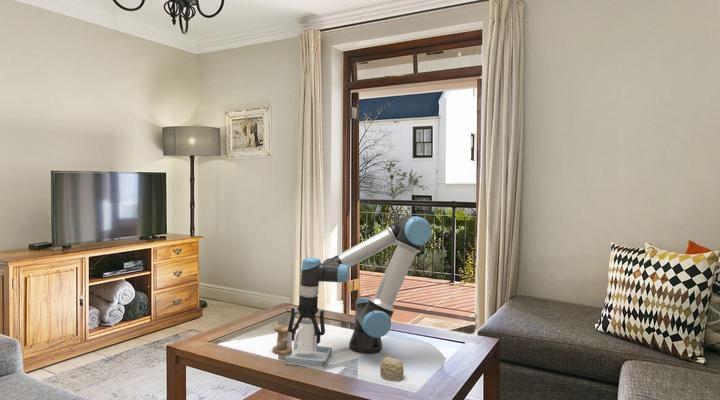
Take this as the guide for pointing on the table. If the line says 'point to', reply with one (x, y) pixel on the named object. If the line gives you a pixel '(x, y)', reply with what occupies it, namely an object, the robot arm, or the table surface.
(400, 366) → the sponge
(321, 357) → the blue-grey square tray
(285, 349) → the bobbin
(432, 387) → the table surface
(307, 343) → the mug
